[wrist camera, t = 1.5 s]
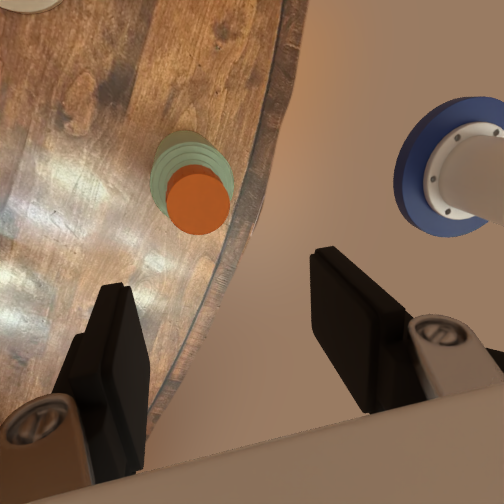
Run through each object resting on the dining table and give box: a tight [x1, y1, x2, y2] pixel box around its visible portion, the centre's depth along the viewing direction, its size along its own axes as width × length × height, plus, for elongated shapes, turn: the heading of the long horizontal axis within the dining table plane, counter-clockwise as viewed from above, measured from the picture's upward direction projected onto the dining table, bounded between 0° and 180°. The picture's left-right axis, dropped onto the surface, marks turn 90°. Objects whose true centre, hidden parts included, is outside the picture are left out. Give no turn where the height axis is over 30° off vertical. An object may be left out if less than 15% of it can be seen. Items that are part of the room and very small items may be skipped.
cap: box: [166, 164, 230, 235], centre depth 24 cm, size 4×4×4 cm
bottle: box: [150, 130, 234, 218], centre depth 31 cm, size 6×6×18 cm
